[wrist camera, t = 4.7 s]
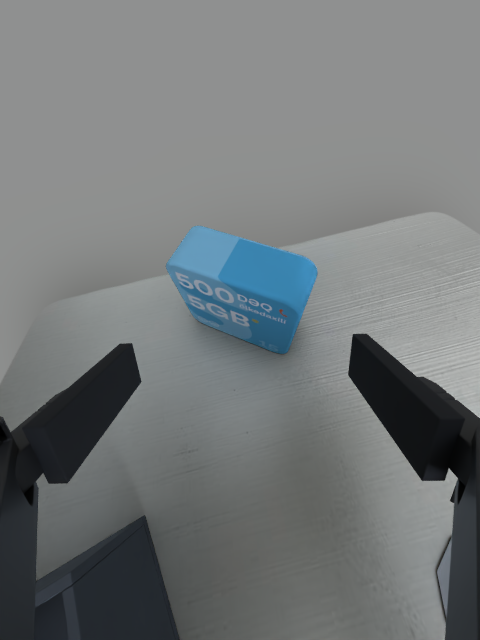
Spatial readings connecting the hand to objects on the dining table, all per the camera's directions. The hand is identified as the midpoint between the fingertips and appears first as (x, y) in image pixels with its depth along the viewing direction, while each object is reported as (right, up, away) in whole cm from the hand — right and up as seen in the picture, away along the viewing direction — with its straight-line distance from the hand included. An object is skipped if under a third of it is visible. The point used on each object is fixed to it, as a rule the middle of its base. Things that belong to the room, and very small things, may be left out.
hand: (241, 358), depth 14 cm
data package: (+1, +2, +15) cm, 15 cm away
